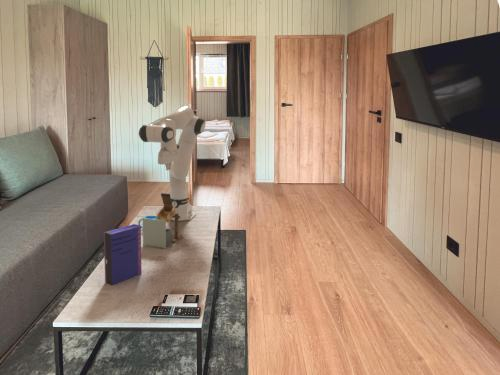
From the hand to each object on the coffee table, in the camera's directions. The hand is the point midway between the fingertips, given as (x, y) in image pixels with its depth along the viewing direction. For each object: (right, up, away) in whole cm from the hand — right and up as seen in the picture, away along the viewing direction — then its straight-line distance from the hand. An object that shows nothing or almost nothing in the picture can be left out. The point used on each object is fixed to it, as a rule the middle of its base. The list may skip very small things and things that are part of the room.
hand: (168, 170), depth 292 cm
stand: (0, -41, -3) cm, 41 cm away
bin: (-3, -43, -13) cm, 45 cm away
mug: (-15, -37, +14) cm, 42 cm away
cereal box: (-11, -53, -62) cm, 82 cm away
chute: (0, -28, -6) cm, 29 cm away
